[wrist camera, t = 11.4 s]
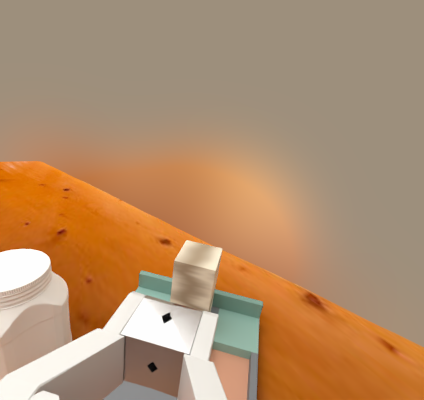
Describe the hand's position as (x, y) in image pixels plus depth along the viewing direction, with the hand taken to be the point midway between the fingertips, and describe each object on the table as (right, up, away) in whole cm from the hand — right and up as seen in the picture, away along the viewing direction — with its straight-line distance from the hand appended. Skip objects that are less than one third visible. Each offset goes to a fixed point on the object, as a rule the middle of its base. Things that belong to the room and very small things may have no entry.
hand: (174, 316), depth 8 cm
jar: (-25, -18, +27) cm, 41 cm away
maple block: (-2, -16, +35) cm, 38 cm away
